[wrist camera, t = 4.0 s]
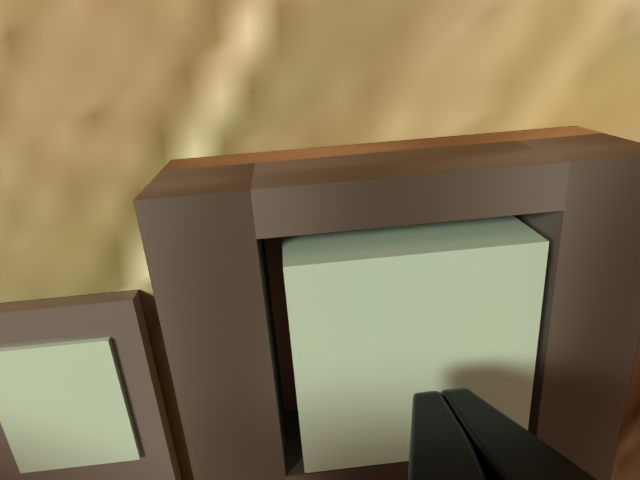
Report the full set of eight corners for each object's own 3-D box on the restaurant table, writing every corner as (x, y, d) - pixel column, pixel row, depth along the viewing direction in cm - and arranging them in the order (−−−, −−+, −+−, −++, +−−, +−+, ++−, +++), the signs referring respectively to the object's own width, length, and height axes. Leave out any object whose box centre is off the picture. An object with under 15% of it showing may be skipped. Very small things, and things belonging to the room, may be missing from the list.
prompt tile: (138, 289, 12) (130, 302, 11) (204, 574, 15) (201, 596, 15) (-55, 308, 11) (-73, 323, 11) (59, 593, 15) (50, 616, 14)
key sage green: (499, 205, 10) (548, 241, 8) (486, 384, 12) (525, 446, 10) (281, 225, 10) (283, 266, 8) (300, 404, 12) (304, 472, 10)
